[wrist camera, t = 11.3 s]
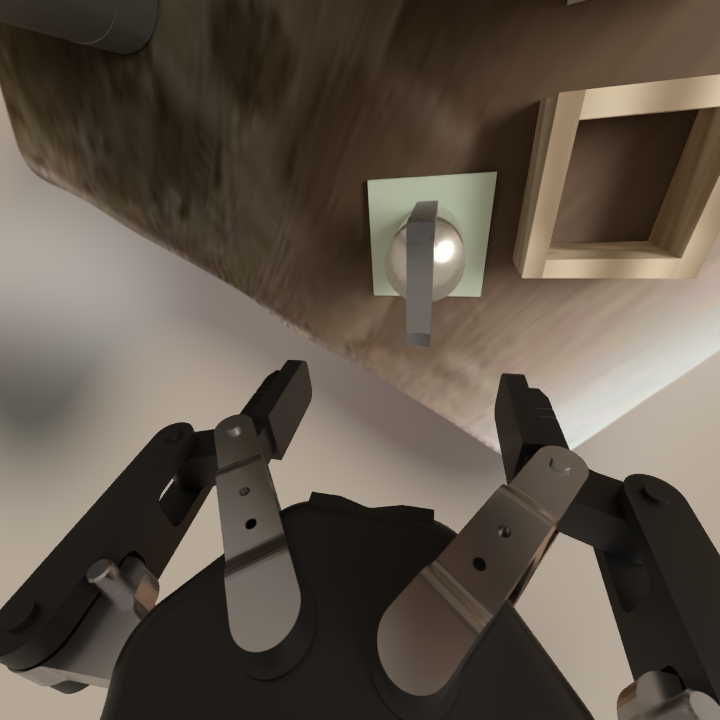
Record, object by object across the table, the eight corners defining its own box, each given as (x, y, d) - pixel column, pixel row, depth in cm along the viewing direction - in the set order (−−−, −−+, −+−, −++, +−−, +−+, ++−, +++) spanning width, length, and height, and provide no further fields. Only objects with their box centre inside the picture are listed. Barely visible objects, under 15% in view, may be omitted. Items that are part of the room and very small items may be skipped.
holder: (512, 259, 31) (521, 278, 27) (540, 100, 25) (559, 92, 20) (660, 258, 28) (696, 278, 24) (737, 78, 22) (803, 64, 18)
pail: (397, 280, 34) (375, 344, 24) (396, 193, 30) (368, 223, 19) (457, 281, 33) (462, 348, 22) (465, 189, 28) (476, 219, 18)
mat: (374, 293, 36) (373, 295, 36) (368, 180, 30) (367, 180, 30) (480, 294, 34) (480, 296, 33) (496, 171, 28) (497, 172, 27)
